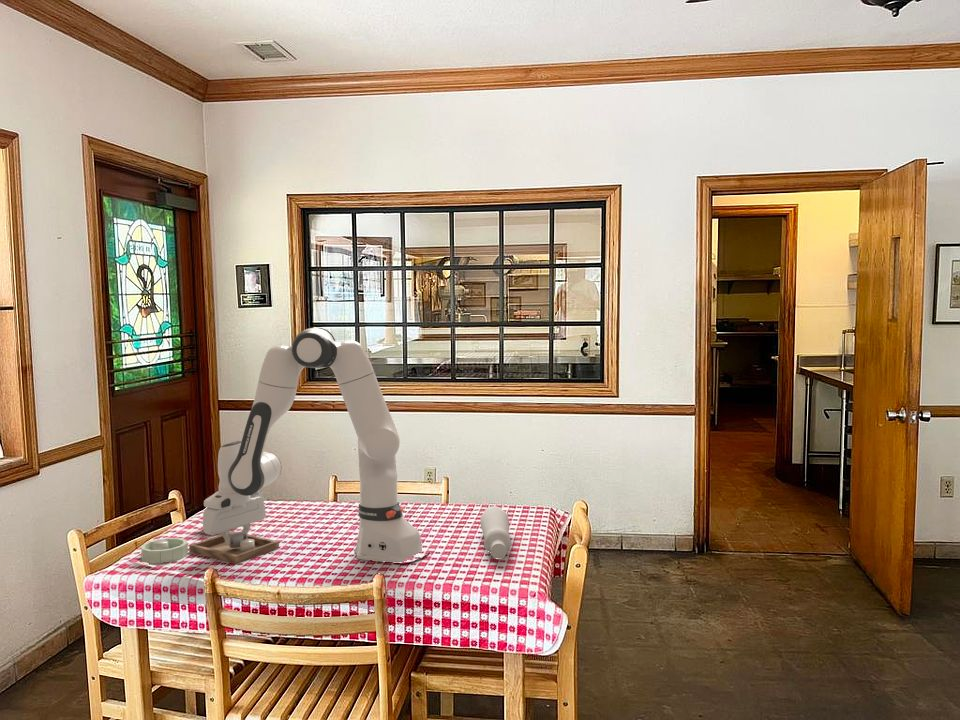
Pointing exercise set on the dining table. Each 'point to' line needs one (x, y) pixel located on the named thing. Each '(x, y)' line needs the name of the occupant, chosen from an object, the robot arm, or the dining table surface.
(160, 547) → the pebble
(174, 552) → the bowl
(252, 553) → the tray
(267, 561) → the dining table surface
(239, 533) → the pebble
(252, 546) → the pebble
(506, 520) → the bottle
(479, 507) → the dining table surface
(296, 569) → the dining table surface
